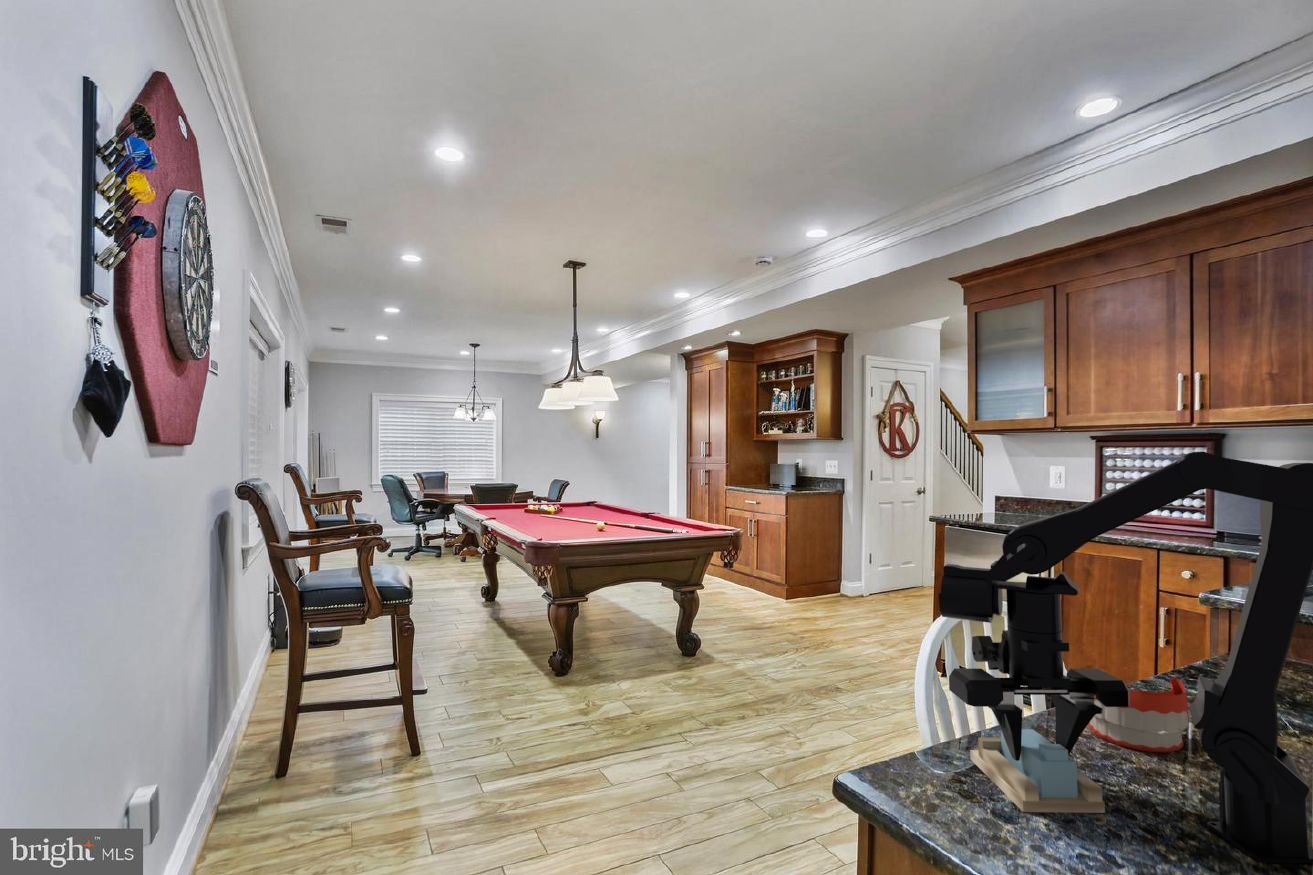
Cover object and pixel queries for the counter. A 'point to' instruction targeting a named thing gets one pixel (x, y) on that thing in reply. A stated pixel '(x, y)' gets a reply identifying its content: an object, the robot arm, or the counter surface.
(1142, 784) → the counter surface
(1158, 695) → the toy
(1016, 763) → the blue stepped block
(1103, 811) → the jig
